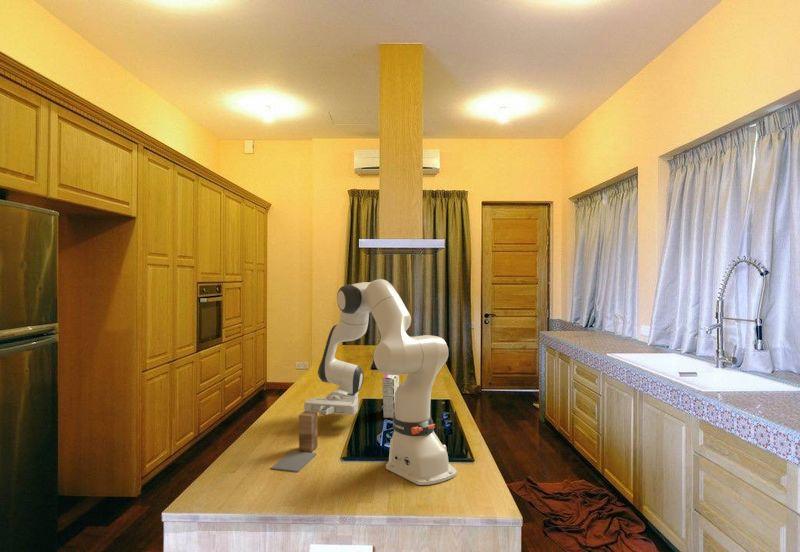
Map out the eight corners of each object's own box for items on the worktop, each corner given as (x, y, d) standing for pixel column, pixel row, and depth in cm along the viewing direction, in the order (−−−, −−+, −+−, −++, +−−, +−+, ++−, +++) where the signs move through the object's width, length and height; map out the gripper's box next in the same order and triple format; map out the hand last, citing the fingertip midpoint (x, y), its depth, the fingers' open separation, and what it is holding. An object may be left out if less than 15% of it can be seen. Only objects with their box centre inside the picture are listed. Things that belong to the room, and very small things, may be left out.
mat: (298, 472, 132) (298, 470, 132) (270, 469, 134) (270, 467, 134) (316, 454, 144) (316, 453, 144) (291, 452, 146) (291, 450, 146)
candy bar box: (388, 409, 191) (388, 371, 191) (399, 410, 190) (399, 372, 190) (382, 418, 180) (382, 377, 180) (394, 418, 179) (394, 378, 179)
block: (311, 452, 146) (311, 416, 146) (299, 451, 147) (298, 415, 147) (317, 447, 151) (317, 411, 150) (305, 445, 152) (305, 410, 152)
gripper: (312, 392, 176) (296, 402, 163) (361, 395, 171) (349, 405, 158) (312, 408, 176) (296, 419, 163) (361, 411, 171) (349, 423, 158)
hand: (322, 412), depth 160 cm, fingers closed
